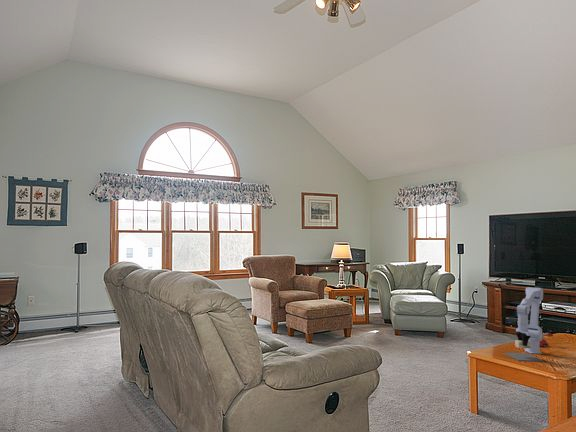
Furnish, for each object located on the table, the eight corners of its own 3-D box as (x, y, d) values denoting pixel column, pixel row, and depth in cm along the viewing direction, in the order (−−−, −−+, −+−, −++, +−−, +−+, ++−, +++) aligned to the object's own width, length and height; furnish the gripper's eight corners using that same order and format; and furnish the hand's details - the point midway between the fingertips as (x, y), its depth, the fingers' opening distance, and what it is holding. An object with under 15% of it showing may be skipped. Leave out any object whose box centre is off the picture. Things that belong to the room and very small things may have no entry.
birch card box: (527, 346, 297) (527, 340, 297) (530, 348, 292) (530, 342, 292) (515, 346, 297) (515, 340, 297) (518, 347, 292) (518, 341, 292)
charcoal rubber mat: (504, 353, 303) (504, 352, 303) (527, 354, 303) (527, 353, 303) (517, 360, 285) (517, 359, 285) (543, 361, 285) (543, 360, 285)
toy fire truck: (533, 345, 329) (533, 332, 330) (549, 345, 332) (549, 332, 332) (536, 347, 326) (536, 333, 327) (553, 346, 329) (553, 333, 329)
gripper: (511, 321, 302) (511, 342, 302) (522, 325, 288) (522, 347, 287) (521, 321, 302) (521, 342, 302) (533, 325, 288) (533, 347, 287)
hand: (523, 344), depth 294 cm, fingers closed on birch card box, 4 cm apart
